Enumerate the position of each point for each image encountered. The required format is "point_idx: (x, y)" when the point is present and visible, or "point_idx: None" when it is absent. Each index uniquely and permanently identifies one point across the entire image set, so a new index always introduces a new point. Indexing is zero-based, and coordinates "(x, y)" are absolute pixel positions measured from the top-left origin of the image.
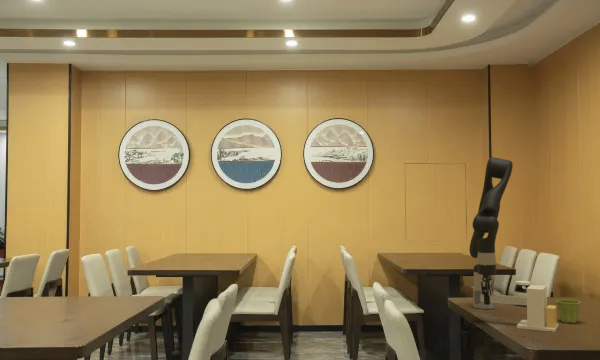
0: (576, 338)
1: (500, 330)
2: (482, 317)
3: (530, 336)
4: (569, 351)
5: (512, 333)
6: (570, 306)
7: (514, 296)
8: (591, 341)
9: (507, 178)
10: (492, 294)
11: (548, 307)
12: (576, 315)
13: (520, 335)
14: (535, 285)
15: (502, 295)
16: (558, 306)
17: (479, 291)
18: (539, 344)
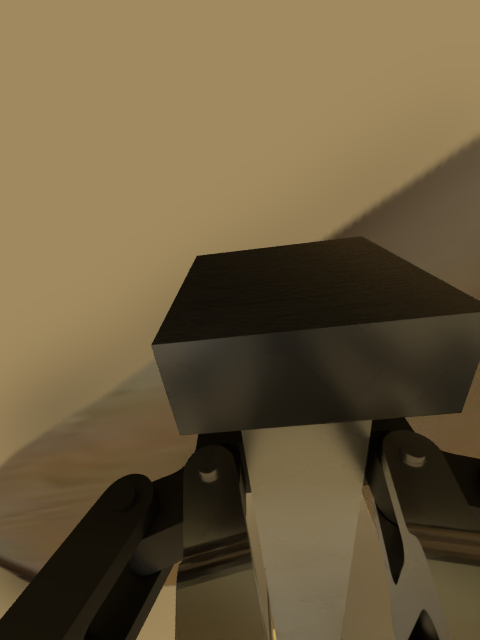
0: (176, 564)
1: (95, 404)
2: (420, 207)
3: (90, 495)
4: (9, 570)
5: (82, 449)
6: None
7: (314, 624)
8: (167, 583)
9: None
10: (351, 507)
11: (273, 632)
12: None
13: (75, 473)
14: None
15: (322, 575)
16: None
17: (341, 403)
18: (6, 526)
